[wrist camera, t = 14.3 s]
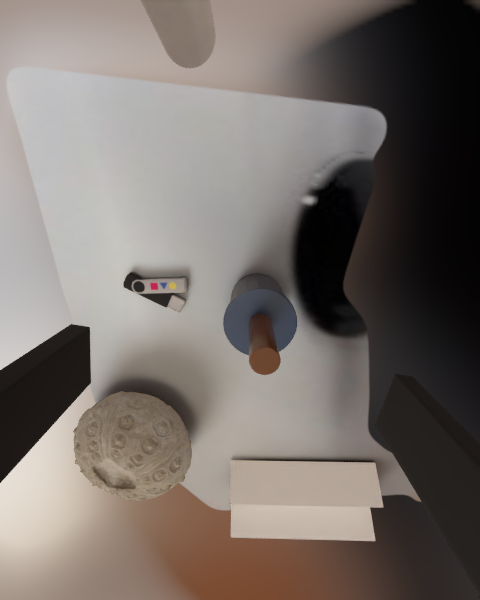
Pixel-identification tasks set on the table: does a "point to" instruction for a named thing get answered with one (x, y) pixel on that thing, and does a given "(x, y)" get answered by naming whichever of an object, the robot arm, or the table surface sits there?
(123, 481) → the decorative shell
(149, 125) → the table surface
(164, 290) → the usb flash drive
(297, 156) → the table surface
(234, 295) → the tin
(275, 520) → the z bracket
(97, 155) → the table surface
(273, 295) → the lid
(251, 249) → the table surface
